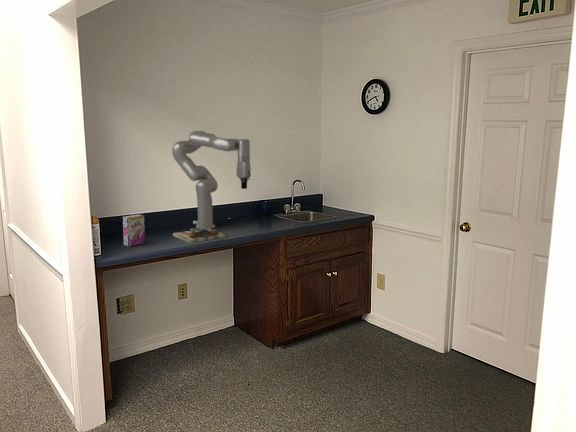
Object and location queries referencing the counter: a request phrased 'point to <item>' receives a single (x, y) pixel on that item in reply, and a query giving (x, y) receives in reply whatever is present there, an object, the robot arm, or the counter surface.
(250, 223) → the counter surface
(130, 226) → the candy bar box
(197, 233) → the lever
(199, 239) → the board
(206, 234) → the keeper
